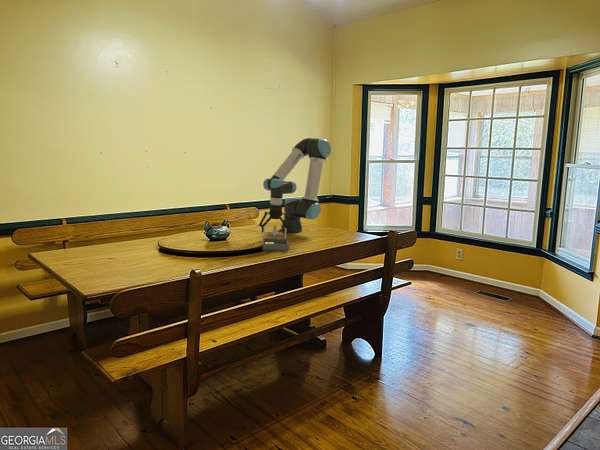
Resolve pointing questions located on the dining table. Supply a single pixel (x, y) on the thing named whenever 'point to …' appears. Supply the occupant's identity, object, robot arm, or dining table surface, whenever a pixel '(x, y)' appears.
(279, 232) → the pipe connector
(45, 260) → the dining table surface
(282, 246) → the tray
